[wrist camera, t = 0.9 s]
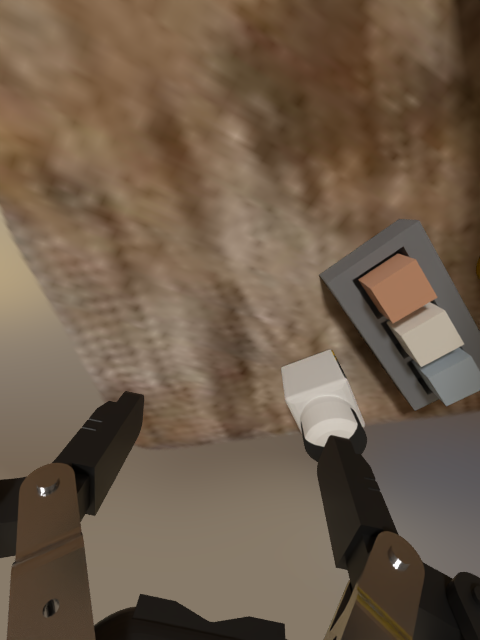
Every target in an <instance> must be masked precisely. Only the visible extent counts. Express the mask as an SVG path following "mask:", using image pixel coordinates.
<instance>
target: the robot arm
mask: <svg viewBox="0 0 480 640" xmlns="http://www.w3.org/2000/svg"><path fill="white" fill-rule="evenodd" d="M143 407H144V395H142V394H137V393H132V392H128V391H125V392H124V393H123V394H122V396H121V397H120V398H119V400H118V401H117V402H112V401H108V402H107V403H105V404H103V405H102V406H100V407H99V408H97V409H96V410H95V412H94V413H93V414H92V415H91V417H90V418H89V420H87V421H86V423H85V424H84V425H83V426H82V429H80V430H79V431H78V432H77V434H76V435H75V436H74V437H73V438H72V440H71V441H70V442H69V443H68V445H67V446H66V447H65V448H64V449H63V451H62V452H61V453H60V455H59V456H58V457H57V458H56V459H55V460H54V461H53V462H52V463H51V464H47V465H44V466H42V467H40V468H38V469H36V470H34V471H33V472H32V473H31V474H29V475H28V476H27V477H23V478H15V479H5V480H0V558H3V557H9V556H15V555H16V559H15V562H14V563H13V565H12V570H11V580H10V596H9V612H8V628H7V640H287V639H285V624H283V623H278V622H273V621H268V620H264V619H258V618H254V617H243V618H237V619H231V620H225V621H218V622H209V621H207V620H205V619H203V618H202V617H201V616H199V615H197V614H196V613H194V612H192V611H191V610H189V609H187V608H186V607H184V606H183V605H181V604H179V603H178V602H176V601H172V600H167V599H162V598H158V597H153V596H148V595H143V594H140V596H139V599H138V602H137V606H136V607H130V608H126V609H123V610H120V611H118V612H116V613H114V614H111V615H109V616H108V617H106V618H104V619H103V620H101V621H100V622H98V623H97V624H96V625H94V623H93V615H92V606H91V598H90V589H89V582H88V573H87V565H86V557H85V548H84V541H83V535H82V532H81V524H80V522H81V520H82V518H83V517H84V515H85V514H89V515H94V516H95V515H96V513H97V512H98V510H99V508H100V506H101V504H102V502H103V500H104V499H105V497H106V495H107V493H108V491H109V489H110V488H111V486H112V484H113V482H114V480H115V478H116V476H117V475H118V473H119V471H120V469H121V467H122V465H123V463H124V462H125V460H126V458H127V456H128V454H129V452H130V451H131V449H132V447H133V445H134V443H135V441H136V440H137V438H138V435H139V433H140V430H141V426H142V420H143ZM317 476H318V481H319V486H320V491H321V496H322V501H323V505H324V511H325V515H326V521H327V526H328V530H329V535H330V540H331V545H332V550H333V555H334V560H335V565H336V568H341V569H346V570H348V573H349V578H350V580H349V582H348V584H347V586H346V588H345V591H344V593H343V595H342V598H341V600H340V602H339V605H338V607H337V609H336V612H335V614H334V617H333V619H332V621H331V624H330V626H329V628H328V630H327V633H326V635H325V638H324V639H323V640H480V578H479V577H477V576H475V575H473V574H471V573H468V572H460V573H458V574H457V575H456V576H455V577H454V578H453V579H452V578H450V577H448V576H447V575H445V574H443V573H441V572H439V571H438V570H435V569H434V568H432V567H430V566H428V565H427V564H425V563H423V562H422V560H421V558H420V557H419V555H418V553H417V552H416V550H415V549H414V548H413V547H412V546H411V545H410V544H409V543H408V542H407V541H406V540H405V539H404V538H402V537H401V536H399V535H398V533H397V530H396V528H395V525H394V523H393V520H392V518H391V516H390V513H389V511H388V508H387V506H386V504H385V501H384V499H383V496H382V494H381V492H380V489H379V486H378V484H377V482H376V481H375V477H374V474H373V472H372V469H371V467H370V465H369V464H368V463H367V462H366V460H365V459H364V458H363V457H362V455H360V454H356V453H355V451H354V448H353V446H352V443H351V441H350V440H349V439H348V438H343V437H338V436H333V435H330V436H329V437H328V439H327V442H326V444H325V447H324V449H323V451H322V454H321V456H320V458H319V461H318V466H317Z"/></svg>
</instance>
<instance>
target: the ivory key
mask: <svg viewBox="0 0 480 640" xmlns="http://www.w3.org/2000/svg"><path fill="white" fill-rule="evenodd" d="M386 323H387V325H388V326H389V328H390V329H391V331H392V332H393V334H394V335H395V337H396V338H397V340H398V341H399V343H400V345H401V346H402V348H403V349H404V351H405V352H406V353H407V354H408V355H409V356H410V357H411V358H412V359H413V360H414V361H415V362H416V363H417V364H418V365H420V366H421V367H422V366H424V365H426V364H428V363H430V362H432V361H434V360H436V359H438V358H440V357H441V356H443V355H445V354H447V353H449V352H451V351H453V350H455V349H457V348H458V347H460V346H462V345H464V343H463V341H462V339H461V337H460V336H459V334H458V332H457V330H456V329H455V327H454V325H453V323H452V322H451V320H450V318H449V316H448V315H447V313H446V311H445V310H443V309H442V308H440V307H438V306H436V305H434V304H432V303H431V302H429V303H427V304H426V305H424V306H422V307H420V308H419V309H417V310H415V311H414V312H412V313H410V314H409V315H407V316H405V317H403V318H402V319H400V320H398V321H397V322H395V323H392V322H391V321H390V320H389V321H387V322H386Z"/></svg>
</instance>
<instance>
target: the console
mask: <svg viewBox="0 0 480 640" xmlns="http://www.w3.org/2000/svg"><path fill="white" fill-rule="evenodd" d="M396 254H401V255H404V256H407V257H410V258H413V259H416V260H417V262H418V264H419V266H420V267H421V269H422V271H423V273H424V274H425V276H426V278H427V280H428V281H429V283H430V285H431V287H432V288H433V290H434V292H435V294H436V295H437V298H436V299H434V300H432V301H431V303H432V304H434V305H436V306H438V307H440V308H442V309H443V310H445V311H446V313H447V315H448V316H449V318H450V320H451V322H452V323H453V325H454V327H455V329H456V330H457V332H458V334H459V336H460V337H461V339H462V341H463V343H464V345H462V346H460V347H459V348H460V349H462V350H463V351H465V352H466V353H468V354H469V355H470V356H471V357H472V358H473V360H474V362H475V364H476V365H477V367H478V369H479V371H480V331H479V329H478V328H477V326H476V324H475V322H474V320H473V318H472V317H471V315H470V313H469V311H468V309H467V307H466V306H465V304H464V302H463V300H462V298H461V296H460V295H459V293H458V291H457V289H456V287H455V285H454V284H453V282H452V280H451V278H450V276H449V274H448V272H447V271H446V269H445V267H444V265H443V263H442V261H441V260H440V258H439V256H438V254H437V252H436V250H435V249H434V247H433V245H432V243H431V241H430V239H429V238H428V236H427V234H426V232H425V230H424V228H423V227H422V225H421V223H420V221H419V220H407V219H399V220H397V221H396V222H394V223H393V224H392V225H390V226H389V227H387V228H386V229H384V230H383V231H381V232H380V233H379V234H377V235H376V236H374V237H373V238H371V239H370V240H369V241H367V242H366V243H364V244H363V245H361V246H360V247H358V248H357V249H356V250H354V251H353V252H351V253H350V254H348V255H347V256H345V257H344V258H343V259H341V260H340V261H338V262H337V263H335V264H334V265H333V266H331V267H330V268H328V269H327V270H325V271H324V272H322V273H321V274H320V277H321V278H322V280H323V281H324V283H325V284H326V285H327V287H328V288H329V290H330V291H331V293H332V294H333V296H334V297H335V298H336V300H337V301H338V303H339V304H340V306H341V307H342V309H343V310H344V311H345V313H346V314H347V316H348V317H349V319H350V320H351V322H352V323H353V324H354V326H355V327H356V329H357V330H358V332H359V333H360V335H361V336H362V337H363V339H364V340H365V342H366V343H367V345H368V346H369V348H370V349H371V350H372V352H373V353H374V355H375V356H376V358H377V359H378V360H379V362H380V363H381V365H382V366H383V368H384V369H385V371H386V372H387V373H388V375H389V376H390V378H391V379H392V381H393V382H394V384H395V385H396V386H397V388H398V389H399V391H400V392H401V393H402V395H403V396H404V397H405V399H406V400H407V401H408V403H409V404H410V405H411V406H412V408H413V409H414V410H415V411H416V410H418V409H420V408H422V407H424V406H426V405H428V404H430V403H432V402H434V401H436V400H438V399H439V398H438V397H437V396H436V395H435V394H434V393H433V392H432V391H431V389H430V388H429V387H428V386H427V384H426V383H425V381H424V380H423V378H422V377H421V375H420V374H419V372H418V371H417V369H416V368H415V366H414V364H413V363H412V360H413V359H412V358H411V357H410V356H409V355H408V354H407V353H406V352H405V351H404V349H403V348H402V346H401V345H400V343H399V341H398V340H397V338H396V337H395V335H394V334H393V332H392V331H391V329H390V328H389V326H388V325H387V323H386V322H387V321H389V320H388V319H387V318H386V317H385V316H384V315H383V314H381V313H380V312H379V311H378V309H377V308H376V306H375V305H374V303H373V302H372V300H371V299H370V297H369V295H368V294H367V292H366V291H365V289H364V288H363V286H362V285H361V283H360V282H359V280H358V279H360V278H361V277H363V276H364V275H366V274H367V273H369V272H370V271H372V270H374V269H375V268H377V267H378V266H380V265H381V264H383V263H384V262H386V261H387V260H389V259H390V258H392V257H393V256H395V255H396Z"/></svg>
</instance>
